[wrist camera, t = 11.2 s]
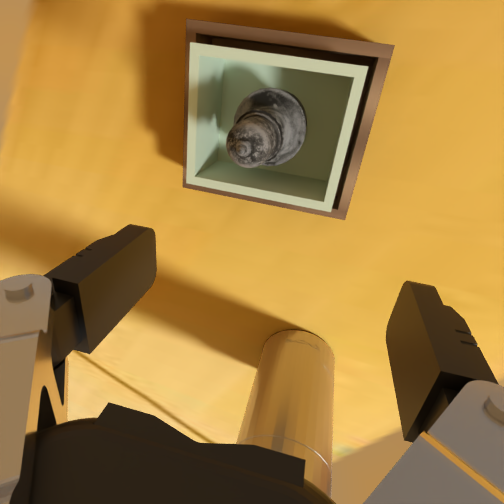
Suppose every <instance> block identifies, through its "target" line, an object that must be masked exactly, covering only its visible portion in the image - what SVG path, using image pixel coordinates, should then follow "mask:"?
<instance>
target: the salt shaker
mask: <svg viewBox="0 0 504 504" xmlns="http://www.w3.org/2000/svg"><path fill="white" fill-rule="evenodd" d="M306 126H307V116H306V112H305V109H304V107H303V105H302V103H301V102H300V100H299V99H298V98H297V97H296V96H295V95H293V94H291V93H290V92H288V91H284V90H281V89H276V88H262V89H259V90H256V91H254V92H252V93H250V94H249V95H248V96H247V97H245V98H244V99H243V101H242V102H241V103H240V105H239V106H238V108H237V111H236V113H235V116H234V123H233V127H232V128H231V130H230V131H229V133H228V136H227V138H226V148H227V152H228V154H229V156H230V158H231V159H232V160H233V161H234V162H235V163H236V164H237V165H239V166H241V167H245V168H254V167H257V166H259V165H265V166H276V165H279V164H282V163H285V162H287V161H288V160H290V159H291V158H293V157H294V156H295V154H296V153H297V152H298V151H299V150H300V148H301V146H302V144H303V142H304V138H305V134H306Z"/></svg>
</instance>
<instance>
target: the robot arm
mask: <svg viewBox="0 0 504 504" xmlns="http://www.w3.org/2000/svg"><path fill="white" fill-rule="evenodd" d="M156 270H157V267H156V238H155V232H154V230H153V229H152V228H147V227H142V226H137V225H132V224H129V225H127V226H126V227H124V228H123V229H121V230H120V231H118V232H117V233H116V234H114V235H111V236H108V237H105V238H102V239H99V240H97V241H95V242H94V243H92V244H91V245H89V246H88V247H86V248H85V250H84V249H83V250H82V251H80V252H79V253H77V254H76V256H72V257H71V258H69V259H68V260H66V261H65V262H63V263H62V264H60V265H59V266H57V267H56V268H54V269H53V270H51V271H50V272H48V273H47V274H45V275H44V276H41V275H34V274H26V275H18V276H13V277H10V278H6V279H4V280H1V281H0V504H336V503H335V502H334V501H333V500H332V499H331V481H332V480H331V479H332V478H331V474H332V435H333V395H334V356H333V353H332V351H331V349H330V347H329V346H328V345H327V344H326V343H325V342H324V341H323V340H322V339H320V338H319V337H317V336H315V335H313V334H311V333H308V332H305V331H300V330H286V331H281V332H279V333H276V334H274V335H273V336H271V337H270V338H269V339H268V340H267V341H266V343H265V345H264V348H263V351H262V355H261V358H260V362H259V366H258V369H257V372H256V376H255V379H254V383H253V386H252V390H251V393H250V397H249V400H248V404H247V407H246V411H245V414H244V418H243V421H242V425H241V428H240V432H239V435H238V439H237V443H236V444H214V443H199V442H196V441H194V440H192V439H190V438H189V437H187V436H186V435H184V434H182V433H181V432H179V431H178V430H176V429H175V428H173V427H171V426H170V425H168V424H167V423H165V422H163V421H162V420H160V419H159V418H157V417H155V416H154V415H150V414H147V413H143V412H140V411H137V410H133V409H130V408H126V407H123V406H119V405H116V404H112V403H108V404H107V406H106V407H105V408H104V410H103V411H102V413H101V414H100V416H99V417H98V418H85V419H78V420H73V421H68V420H67V410H68V367H69V363H68V358H67V355H68V354H69V353H70V352H71V351H72V350H77V351H81V352H84V353H88V354H91V352H92V351H93V350H94V349H95V348H96V347H97V346H98V345H99V344H100V342H101V341H102V340H103V339H104V338H105V337H106V336H107V335H108V334H109V333H110V331H111V330H112V329H113V328H114V327H115V326H116V325H117V324H118V323H119V322H120V320H121V319H122V318H123V317H124V316H125V315H126V314H127V313H128V312H129V310H130V309H131V308H132V307H133V306H134V305H135V304H136V303H137V302H138V301H139V299H140V298H141V297H142V296H143V295H144V294H145V293H146V292H147V291H148V290H149V288H150V287H151V286H152V284H153V282H154V280H155V277H156ZM386 344H387V349H388V355H389V360H390V366H391V371H392V377H393V382H394V388H395V393H396V399H397V404H398V409H399V415H400V420H401V426H402V431H403V437H404V440H405V441H409V442H413V444H412V445H411V446H410V447H409V448H408V450H407V451H406V452H405V453H404V455H403V456H402V457H401V459H399V461H398V462H397V463H396V464H395V465H394V467H393V468H392V469H391V470H390V471H389V473H388V474H387V475H386V476H385V478H384V479H383V480H382V481H381V483H380V484H379V485H378V486H377V487H376V488H375V490H374V491H373V492H372V493H371V495H370V496H369V497H368V498H367V500H366V501H365V502H364V503H363V504H504V387H502V386H500V385H499V384H498V382H497V380H496V379H495V377H494V375H493V373H492V371H491V369H490V367H489V365H488V363H487V361H486V360H485V358H484V356H483V354H482V352H481V350H480V348H479V347H477V342H476V341H475V339H474V337H473V336H472V335H471V331H470V329H469V327H468V325H467V324H466V322H465V320H464V319H463V318H462V317H461V316H460V315H459V314H458V313H457V312H456V311H455V310H454V309H453V308H452V307H450V306H445V305H443V303H442V301H441V299H440V296H439V294H438V292H437V290H436V288H435V287H434V286H431V285H426V284H421V283H416V282H411V281H406V282H405V283H404V284H403V286H402V288H401V290H400V293H399V296H398V298H397V301H396V303H395V306H394V309H393V311H392V314H391V316H390V319H389V322H388V325H387V330H386Z"/></svg>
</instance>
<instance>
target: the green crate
mask: <svg viewBox="0 0 504 504" xmlns="http://www.w3.org/2000/svg"><path fill="white" fill-rule="evenodd" d="M367 70H368V67H367V66H360V65H353V64H346V63H338V62H331V61H324V60H316V59H309V58H302V57H295V56H287V55H280V54H273V53H265V52H258V51H251V50H244V49H236V48H229V47H222V46H214V45H207V44H200V43H193V42H190V61H189V99H188V137H187V174H186V183H188V184H193V185H198V186H203V187H208V188H213V189H217V190H222V191H227V192H232V193H237V194H242V195H247V196H252V197H257V198H262V199H267V200H272V201H277V202H282V203H287V204H292V205H297V206H302V207H307V208H312V209H317V210H322V211H327V212H331V210H332V206H333V202H334V198H335V194H336V190H337V187H338V183H339V179H340V175H341V171H342V167H343V163H344V159H345V156H346V152H347V148H348V144H349V140H350V136H351V132H352V128H353V125H354V121H355V117H356V113H357V109H358V105H359V101H360V97H361V94H362V90H363V86H364V82H365V78H366V74H367ZM262 88H276V89H281V90H284V91H288V92H290V93H291V94H293V95H295V96H296V97H297V98H298V99H299V100H300V102H301V103H302V105H303V107H304V109H305V112H306V116H307V126H306V134H305V138H304V142H303V144H302V146H301V148H300V150H299V151H298V152H297V153H296V154H295V156H294V157H293V158H291V159H290V160H288V161H287V162H285V163H282V164H279V165H276V166H265V165H259V166H257V167H254V168H245V167H241V166H239V165H237V164H236V163H235V162H234V161H233V160H232V159H231V158H230V156H229V154H228V152H227V148H226V138H227V136H228V133H229V131H230V130H231V128H232V127H233V123H234V116H235V113H236V111H237V108H238V106H239V105H240V103H241V102H242V101H243V99H244V98H245V97H247V96H248V95H249V94H250V93H252V92H254V91H256V90H259V89H262Z"/></svg>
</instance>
